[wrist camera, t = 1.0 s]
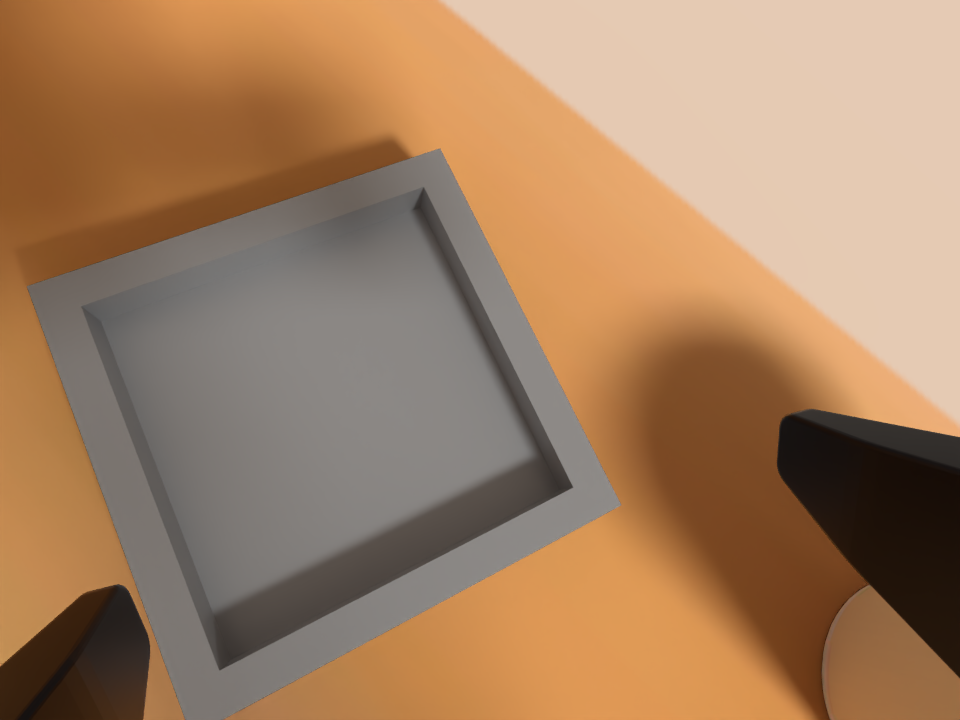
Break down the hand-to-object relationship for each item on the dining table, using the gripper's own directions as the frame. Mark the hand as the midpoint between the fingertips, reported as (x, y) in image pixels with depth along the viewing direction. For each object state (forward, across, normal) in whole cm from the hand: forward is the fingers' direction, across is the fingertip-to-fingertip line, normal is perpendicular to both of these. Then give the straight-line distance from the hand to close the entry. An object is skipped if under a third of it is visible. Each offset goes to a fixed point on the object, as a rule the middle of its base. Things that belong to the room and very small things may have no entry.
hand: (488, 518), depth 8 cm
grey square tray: (+14, +2, +4) cm, 15 cm away
